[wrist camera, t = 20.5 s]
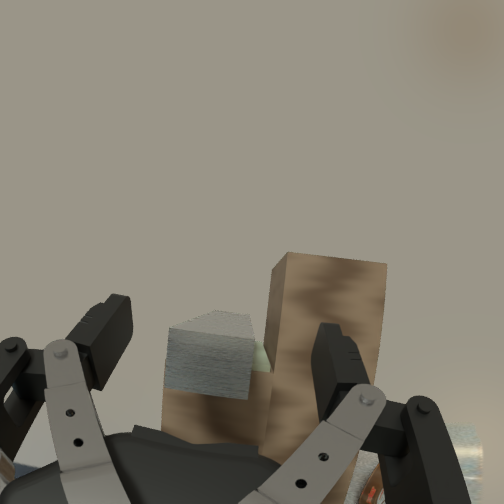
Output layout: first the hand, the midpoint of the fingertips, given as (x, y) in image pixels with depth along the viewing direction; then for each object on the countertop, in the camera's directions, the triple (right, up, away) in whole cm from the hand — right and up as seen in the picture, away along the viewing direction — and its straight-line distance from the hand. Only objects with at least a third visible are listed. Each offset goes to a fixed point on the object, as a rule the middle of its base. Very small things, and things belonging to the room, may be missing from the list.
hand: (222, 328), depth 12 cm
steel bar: (-1, -5, +12) cm, 13 cm away
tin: (+21, -33, +19) cm, 44 cm away
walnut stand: (0, -29, +12) cm, 32 cm away
